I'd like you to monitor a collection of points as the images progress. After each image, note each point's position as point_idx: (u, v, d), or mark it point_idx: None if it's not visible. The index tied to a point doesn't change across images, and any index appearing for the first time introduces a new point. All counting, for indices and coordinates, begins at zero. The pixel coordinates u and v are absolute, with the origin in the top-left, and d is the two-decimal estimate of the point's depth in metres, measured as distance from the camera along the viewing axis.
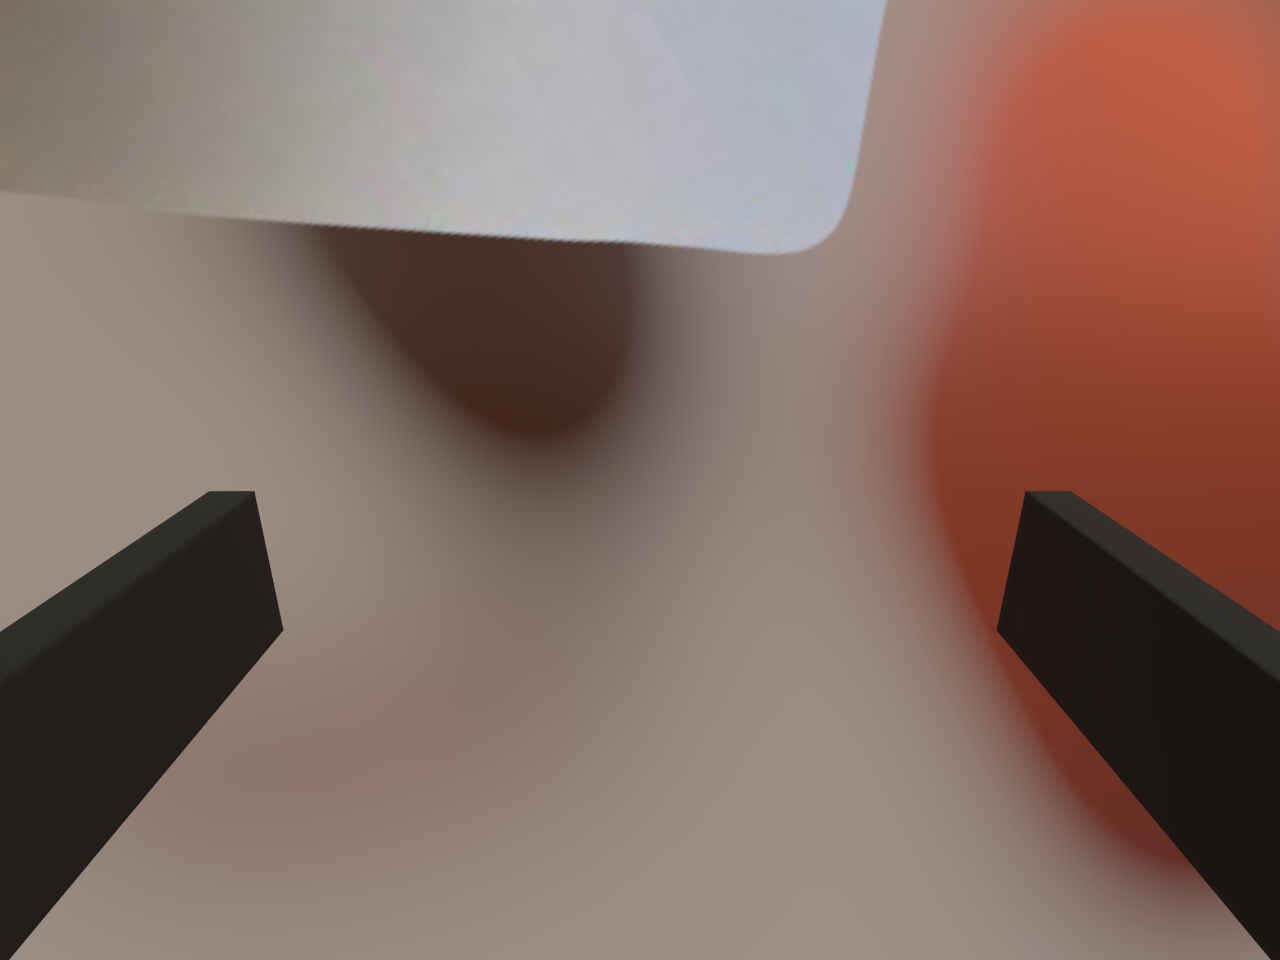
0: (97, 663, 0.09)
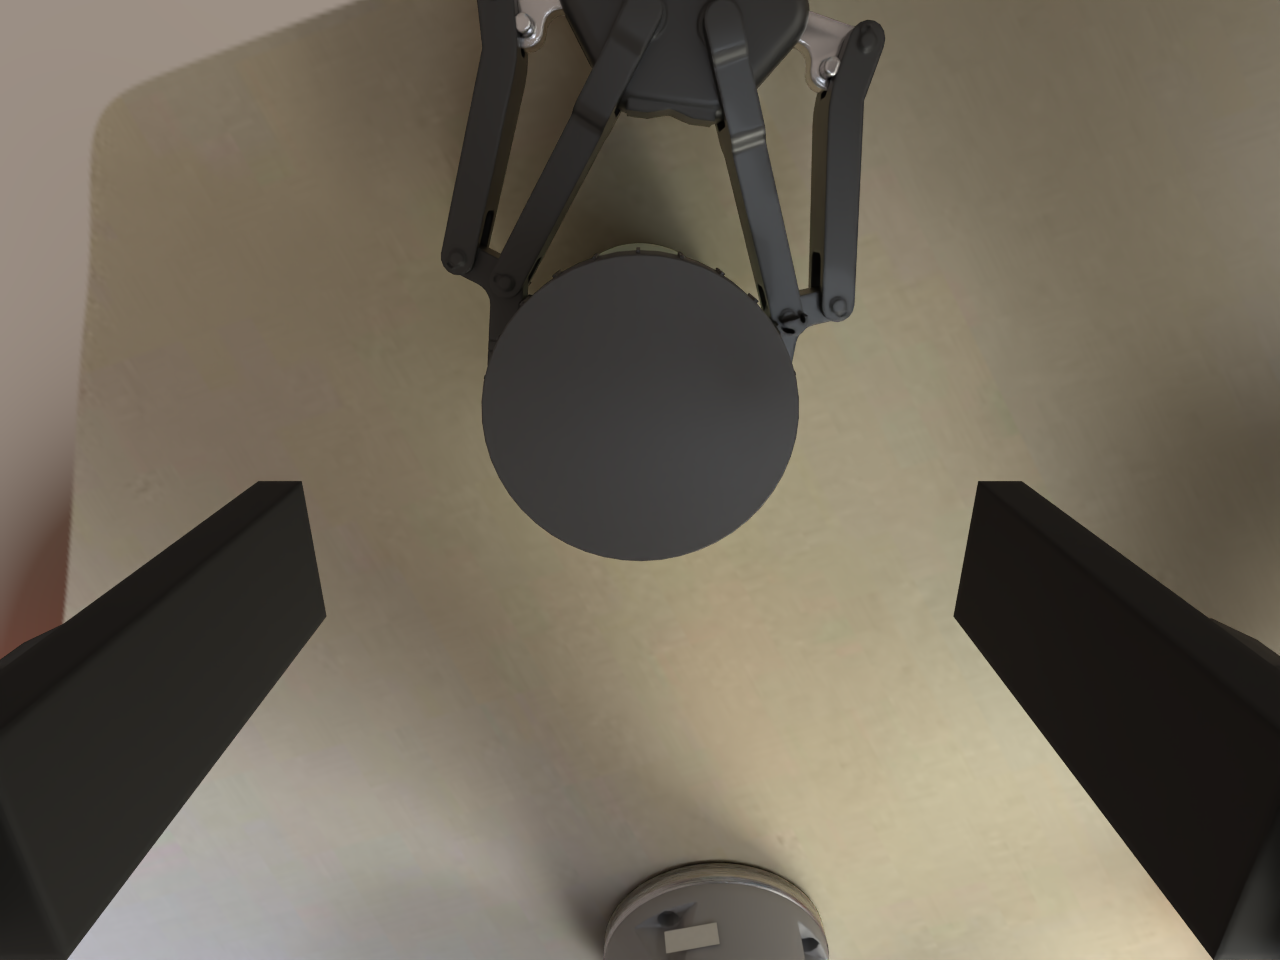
0: (170, 641, 0.09)
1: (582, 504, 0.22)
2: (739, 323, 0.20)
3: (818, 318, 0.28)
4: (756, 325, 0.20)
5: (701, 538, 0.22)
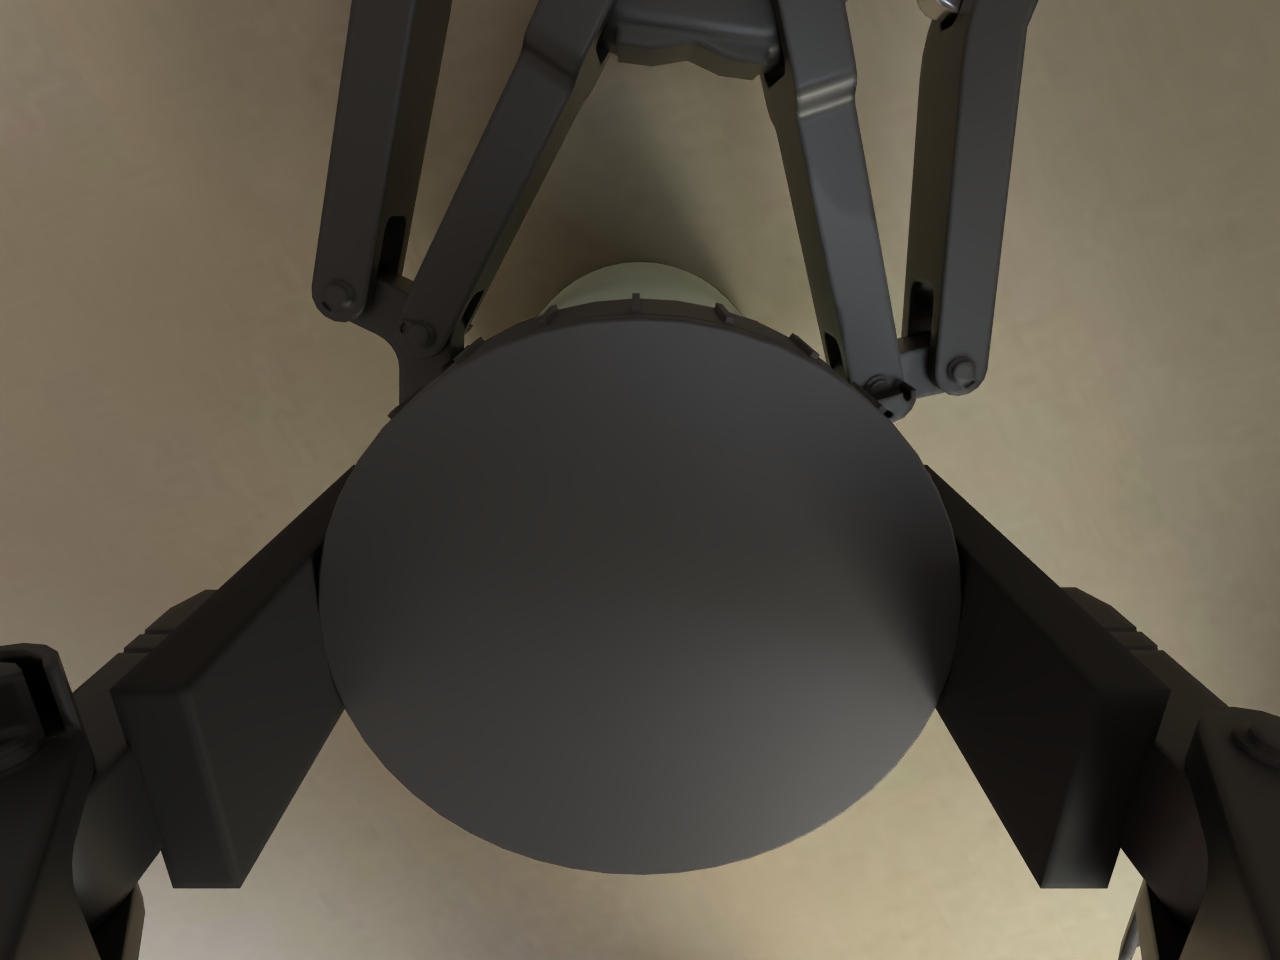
0: (306, 606, 0.10)
1: (528, 785, 0.11)
2: (849, 460, 0.09)
3: (925, 388, 0.17)
4: (886, 463, 0.09)
5: (755, 839, 0.12)
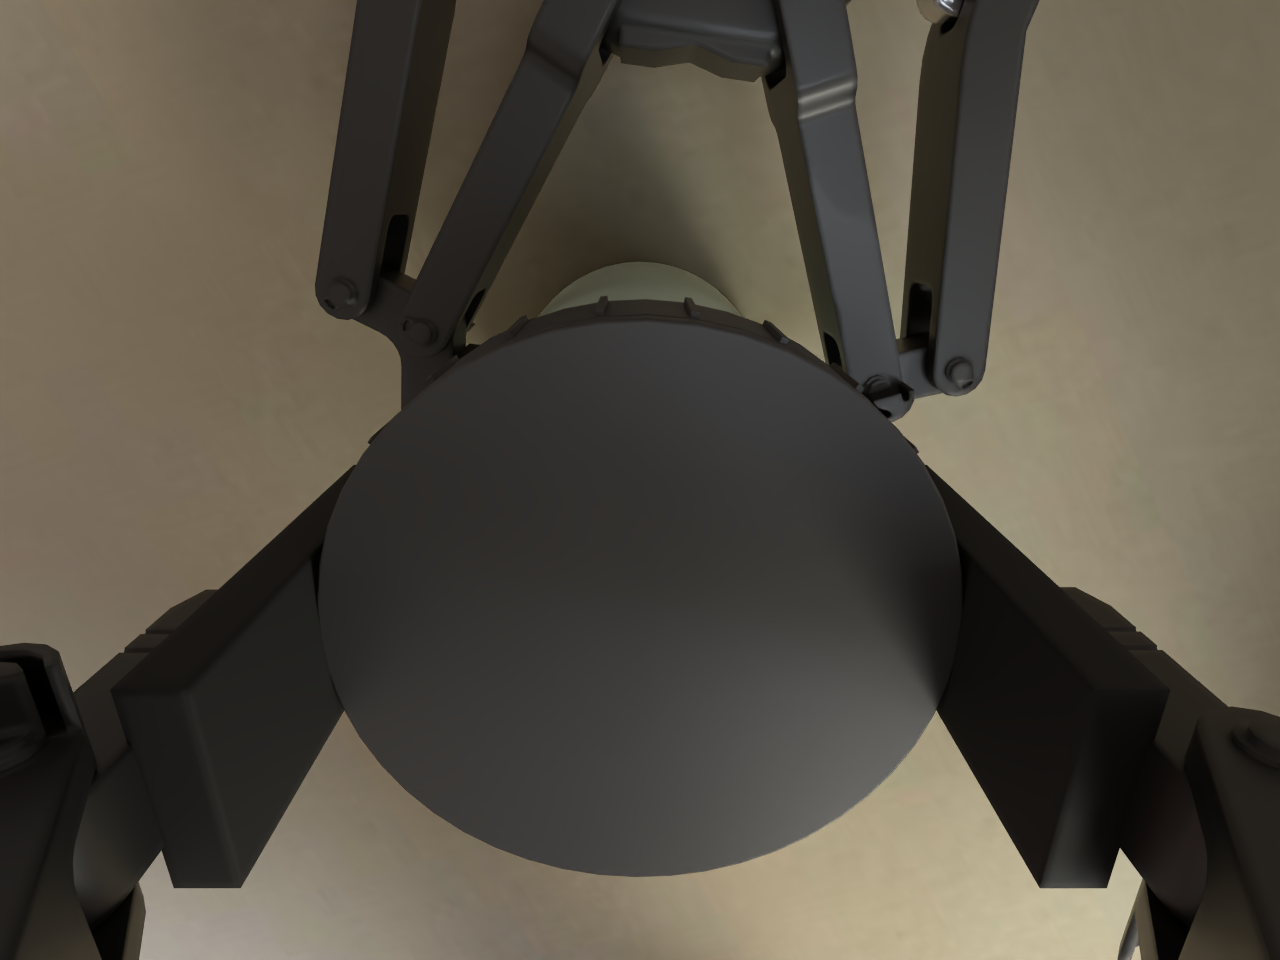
0: (307, 606, 0.10)
1: (826, 726, 0.11)
2: (409, 485, 0.09)
3: (923, 389, 0.17)
4: (405, 450, 0.09)
5: (911, 497, 0.09)
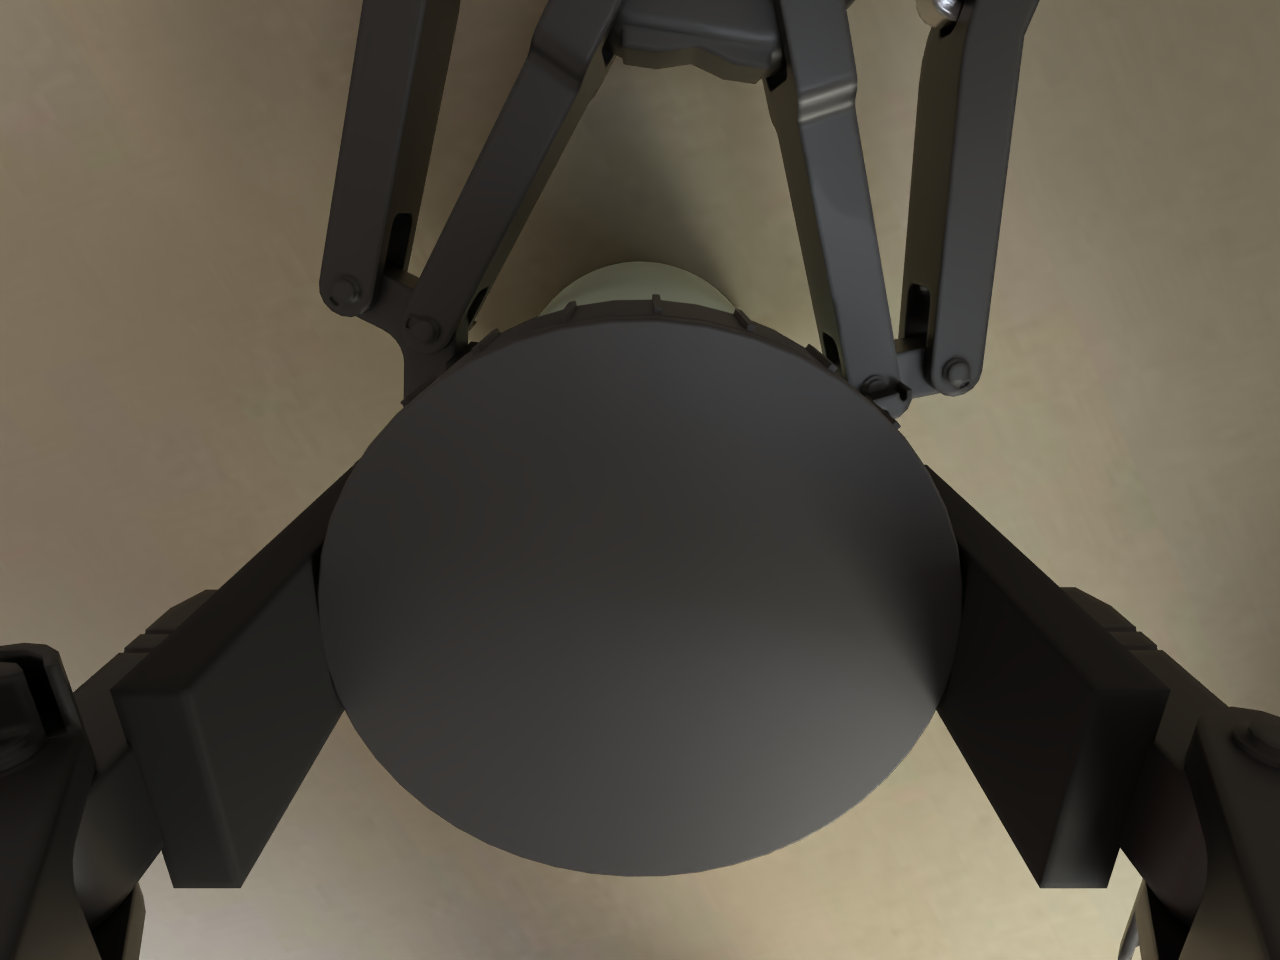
0: (307, 606, 0.10)
1: (732, 448, 0.09)
2: (507, 816, 0.11)
3: (920, 389, 0.18)
4: (477, 818, 0.11)
5: (434, 418, 0.09)
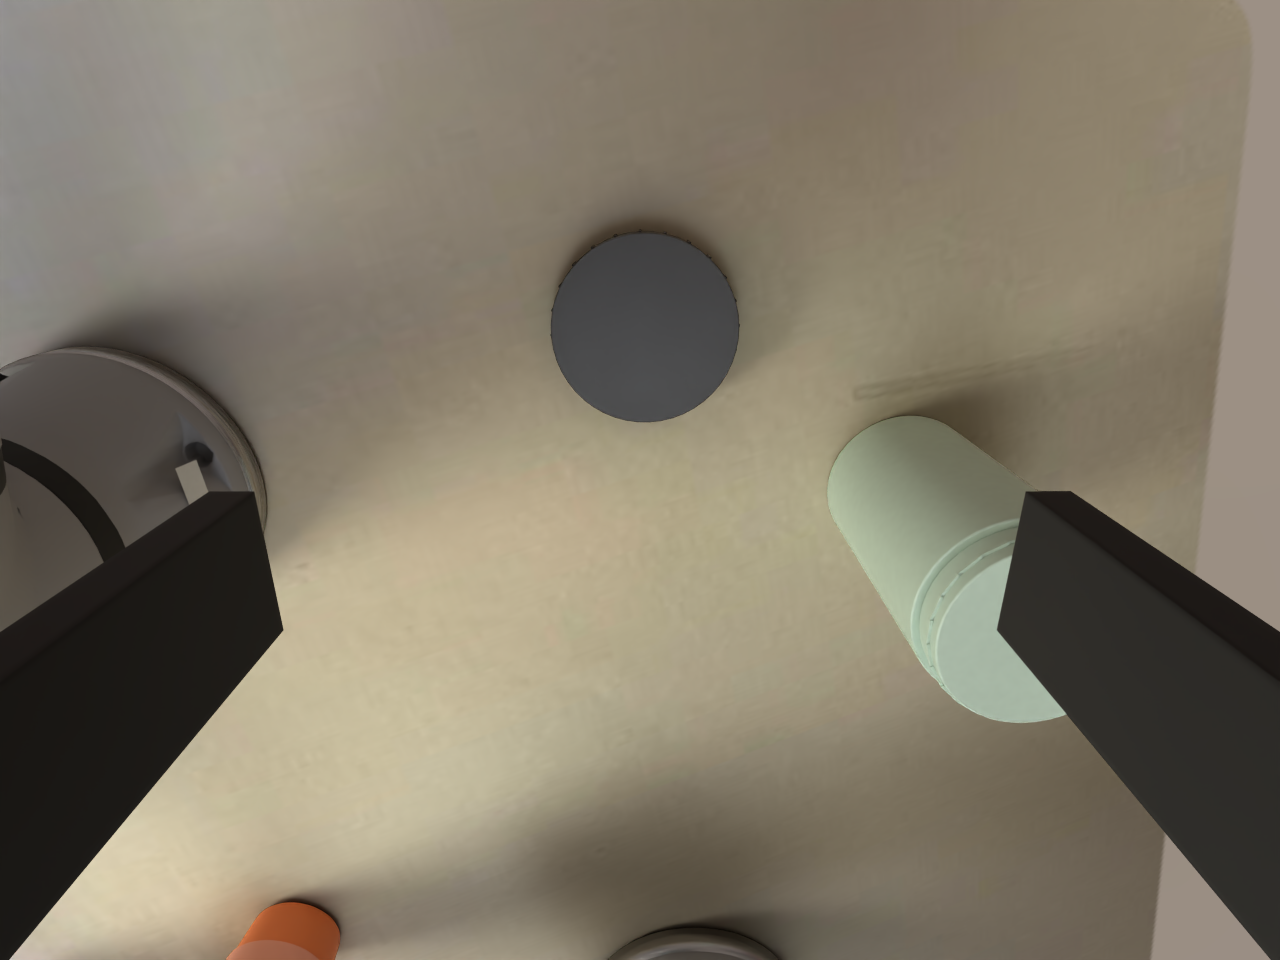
0: (97, 663, 0.09)
1: (581, 313, 0.34)
2: (714, 368, 0.35)
3: None
4: (715, 377, 0.35)
5: (583, 390, 0.36)
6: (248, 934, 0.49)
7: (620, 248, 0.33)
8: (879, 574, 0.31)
